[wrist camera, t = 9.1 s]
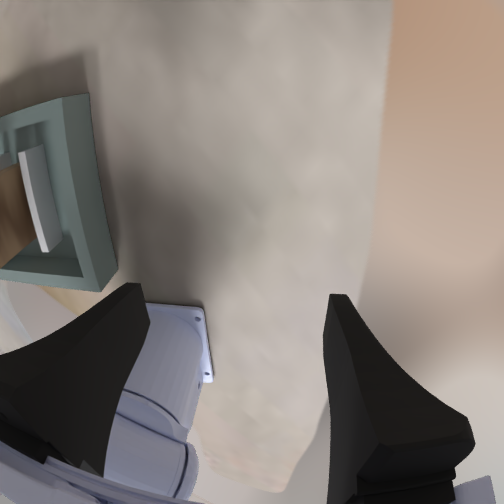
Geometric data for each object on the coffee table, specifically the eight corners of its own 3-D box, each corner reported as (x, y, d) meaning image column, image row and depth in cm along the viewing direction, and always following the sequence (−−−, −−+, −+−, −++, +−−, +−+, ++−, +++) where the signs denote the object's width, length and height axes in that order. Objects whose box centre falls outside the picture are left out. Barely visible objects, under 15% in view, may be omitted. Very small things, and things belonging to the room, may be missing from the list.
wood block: (47, 228, 23) (-10, 277, 16) (32, 229, 23) (-24, 275, 16) (32, 159, 20) (-37, 195, 13) (16, 162, 20) (-50, 197, 13)
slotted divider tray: (118, 269, 25) (100, 292, 22) (10, 261, 26) (-9, 278, 23) (89, 92, 18) (61, 97, 15) (-23, 128, 19) (-47, 137, 16)
